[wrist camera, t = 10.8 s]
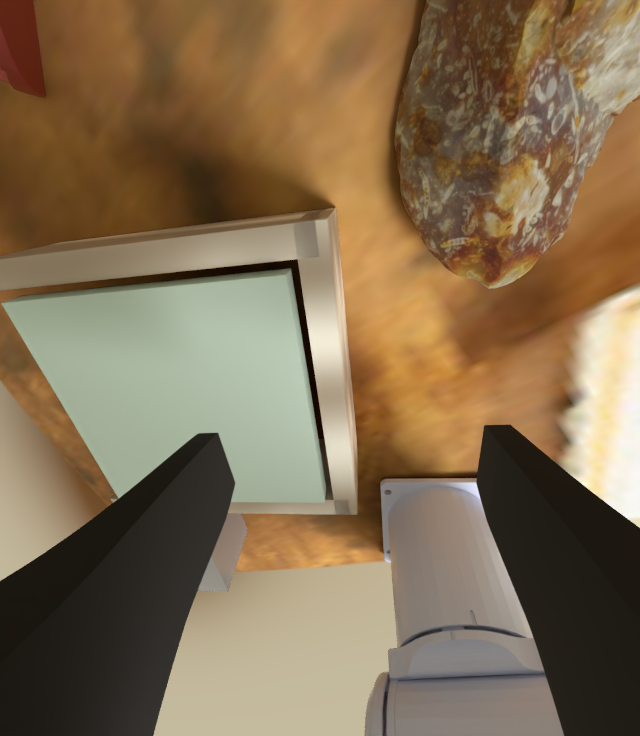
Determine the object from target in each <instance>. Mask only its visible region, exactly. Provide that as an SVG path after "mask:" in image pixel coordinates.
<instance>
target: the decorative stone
mask: <svg viewBox="0 0 640 736" xmlns="http://www.w3.org/2000/svg"><path fill="white" fill-rule="evenodd" d="M418 43H419V45H418V47H417V49H416V50H415V52H414V54H413V57H412V61H411V65H410V68H409V71H408V74H407V77H406V79H405V82H404V85H403V88H402V90H401V93H400V103H399V110H398V115H397V120H396V127H395V135H394V146H395V150H396V153H397V166H398V170H399V174H400V182H401V183H400V191H401V196H402V201H403V204H404V207H405V209H406V211H407V213H408V215H409V216H410V218H411V219H412V221H413V222H414V224H415V226H416V229H417V231H418V233H419V235H420V236H421V238H422V240H423V242H424V243H425V245H426V247H427V248H428V250H429V251H430V252H431V253H432V254H433V255H434V256H435V257H436V258H437V259H438V260H439V261H441V263H442V264H443V265H444V266H445V268H447V269H448V270H450V271H451V272H453V273H454V274H456V275H458V276H461V277H463V278H472V279H475V280H477V281H479V282H480V283H481V284H482V285H483V286H485V287H487V288H489V289H490V288H497V287H500V286H503V285H507V284H509V283H511V282H513V281H515V280H516V279H518V278H520V277H521V276H523V275H524V274H525V273H527V272H528V271H529V270H530V269H531V268H532V267H533V265H534V264H535V263H536V261H537V259H538V258H540V257H542V256H544V255H545V254H547V253H548V252H549V251H550V248H551V246H552V245H553V244H554V243H556V242H557V241H558V240H560V239H562V237H563V235H564V234H565V232H566V230H567V228H568V225H569V222H570V218H571V213H572V209H573V205H574V202H575V199H576V197H577V195H578V188H579V186H580V184H581V183H582V181H583V180H584V175H585V169H586V168H590V167H591V166H592V165H593V164H594V162H595V160H596V158H597V157H598V155H599V152H600V150H601V148H602V145H603V143H604V138H605V134H606V132H607V130H608V129H609V127H610V126H611V124H612V122H613V119H614V116H617V115H620V113H621V112H622V110H623V109H624V108H625V106H626V105H627V104H629V103H630V102H631V101H633V102H634V101H636V100H640V0H426V4H425V7H424V11H423V14H422V19H421V27H420V33H419V37H418Z"/></svg>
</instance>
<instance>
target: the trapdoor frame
mask: <svg viewBox="0 0 640 736" xmlns="http://www.w3.org/2000/svg"><path fill="white" fill-rule="evenodd" d="M295 259H298V266H299V272H300V279H301V286H302V292H303V299H304V306H305V312H306V319H307V326H308V332H309V339H310V346H311V352H312V359H313V366H314V372H315V379H316V386H317V392H318V399H319V406H320V412H321V419H322V426H323V432H324V438H321V439H319V445H320V451H321V457H322V464H323V470H324V476H325V482H326V495H325V503H293V502H231V503H230V507H229V510H228V513H246V514H339V515H357V491H358V447H357V436H356V425H355V413H354V402H353V391H352V380H351V369H350V358H349V346H348V335H347V324H346V313H345V302H344V291H343V280H342V268H341V257H340V246H339V235H338V224H337V213H336V207H335V208H327V209H319V210H311V211H303V212H295V213H288V214H280V215H272V216H264V217H256V218H248V219H240V220H233V221H225V222H217V223H209V224H201V225H193V226H185V227H178V228H170V229H162V230H154V231H146V232H138V233H130V234H123V235H115V236H107V237H99V238H91V239H83V240H75V241H68V242H60V243H55V244H51V245H46V246H42V247H37V248H33V249H28V250H24V251H19V252H15V253H10V254H6V255H1V256H0V291H2V290H11V289H21V288H30V287H39V286H49V285H58V284H68V283H77V282H87V281H96V280H106V279H115V278H125V277H134V276H143V275H153V274H162V273H172V272H181V271H191V270H200V269H210V268H219V267H229V266H238V265H247V264H257V263H266V262H276V261H285V260H295ZM117 499H119V498H118V497H117V495H116V493H115V494H114V495H113V496H112V498H111V501H112V502H113V503H114V502H115V501H116V500H117Z"/></svg>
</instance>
